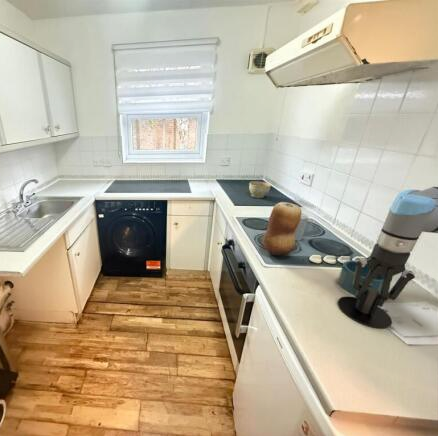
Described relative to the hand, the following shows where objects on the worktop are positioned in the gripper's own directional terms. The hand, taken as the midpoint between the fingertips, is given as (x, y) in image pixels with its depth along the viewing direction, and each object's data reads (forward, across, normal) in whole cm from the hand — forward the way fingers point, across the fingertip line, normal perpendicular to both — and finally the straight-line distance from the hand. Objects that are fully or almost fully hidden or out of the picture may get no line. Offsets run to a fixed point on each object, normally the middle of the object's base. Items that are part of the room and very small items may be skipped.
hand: (364, 309), depth 78 cm
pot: (+2, 0, +15) cm, 15 cm away
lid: (+1, 0, 0) cm, 1 cm away
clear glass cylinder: (+2, -25, +51) cm, 57 cm away
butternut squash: (+2, -30, +26) cm, 40 cm away
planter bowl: (+2, -56, +116) cm, 129 cm away
